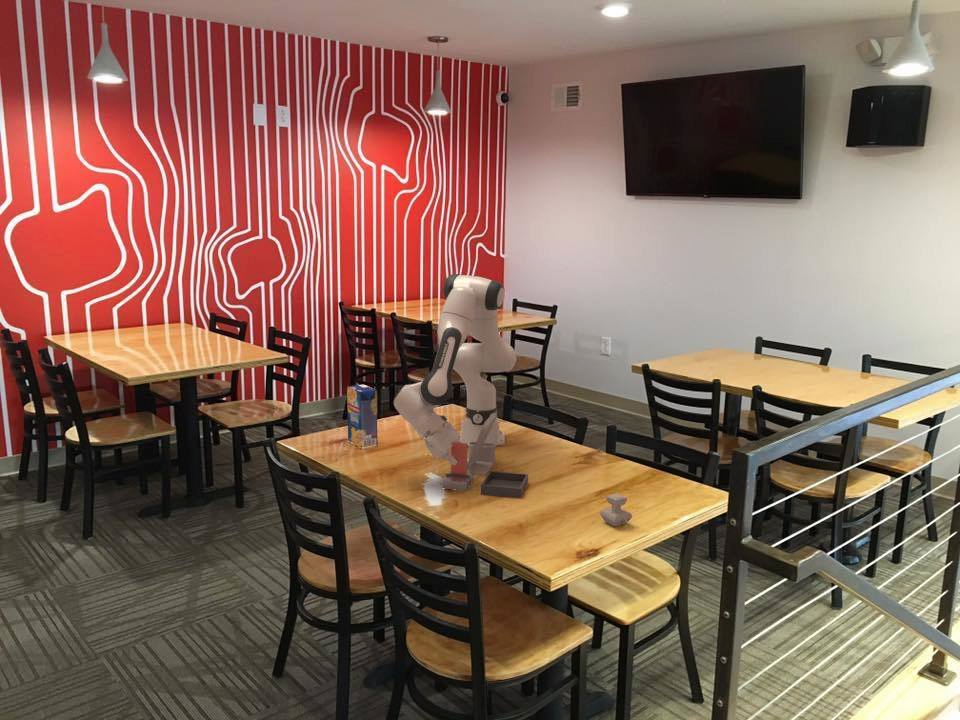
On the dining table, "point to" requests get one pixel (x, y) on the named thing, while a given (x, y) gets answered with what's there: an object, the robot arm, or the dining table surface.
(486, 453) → the phone holder
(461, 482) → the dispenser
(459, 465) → the ticket
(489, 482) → the tray
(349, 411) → the beverage box
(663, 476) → the dining table surface
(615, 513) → the stamp
